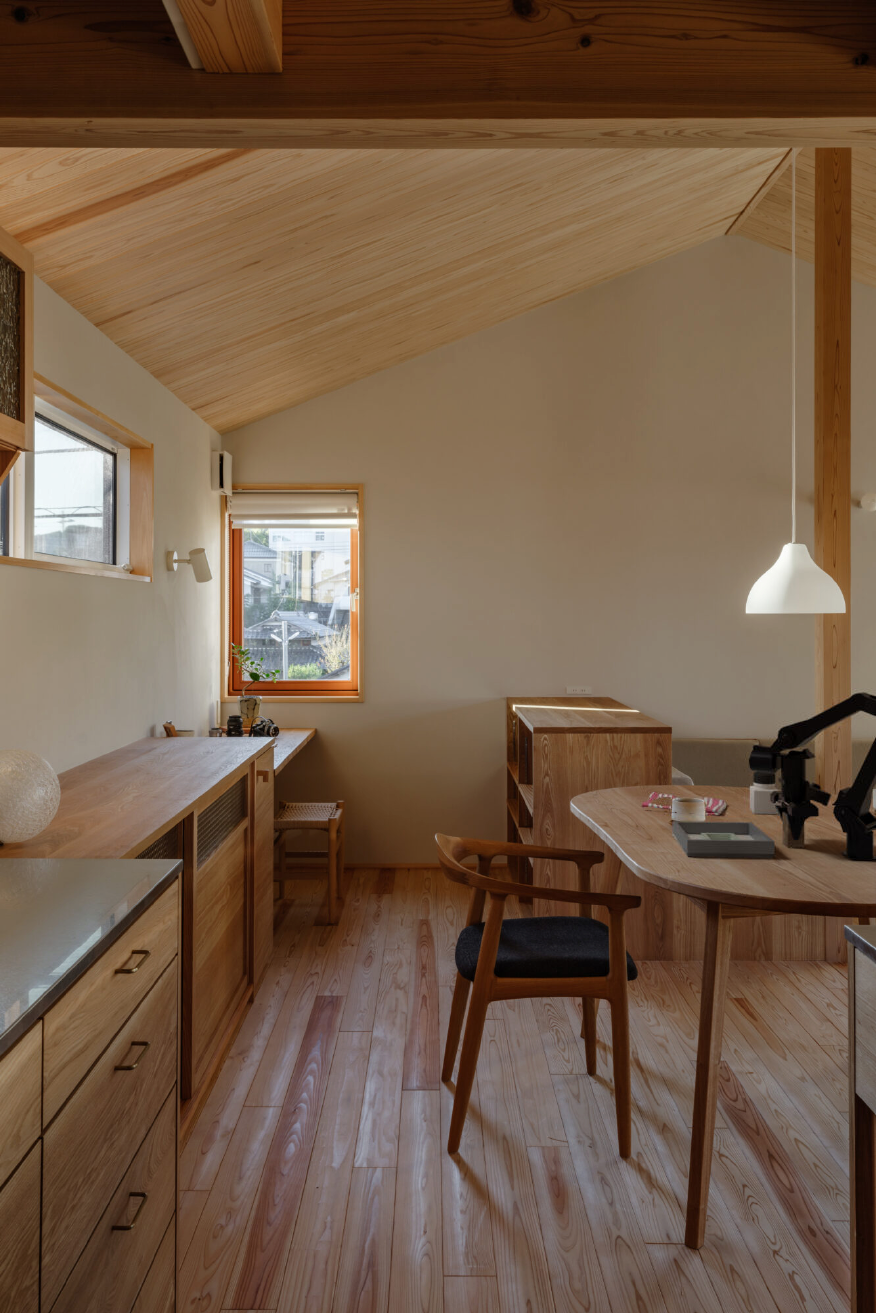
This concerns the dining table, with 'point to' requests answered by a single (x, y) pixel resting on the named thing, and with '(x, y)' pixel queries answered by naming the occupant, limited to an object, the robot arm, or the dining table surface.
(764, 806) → the medicine bottle
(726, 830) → the walled box
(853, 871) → the dining table surface
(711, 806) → the dish towel
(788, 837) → the peg
